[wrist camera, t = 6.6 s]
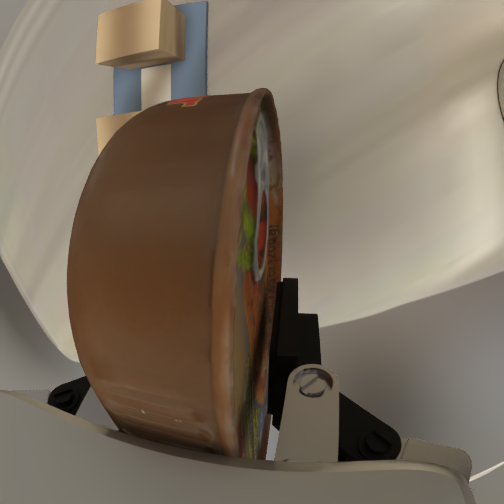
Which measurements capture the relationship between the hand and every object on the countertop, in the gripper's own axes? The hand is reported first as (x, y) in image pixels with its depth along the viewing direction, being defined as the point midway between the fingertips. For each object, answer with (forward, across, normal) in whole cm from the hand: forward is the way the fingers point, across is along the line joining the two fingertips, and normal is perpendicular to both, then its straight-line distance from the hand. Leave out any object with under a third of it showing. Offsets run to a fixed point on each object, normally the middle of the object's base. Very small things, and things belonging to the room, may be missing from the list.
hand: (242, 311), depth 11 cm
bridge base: (+19, +11, -11) cm, 25 cm away
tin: (+2, 0, 0) cm, 2 cm away
